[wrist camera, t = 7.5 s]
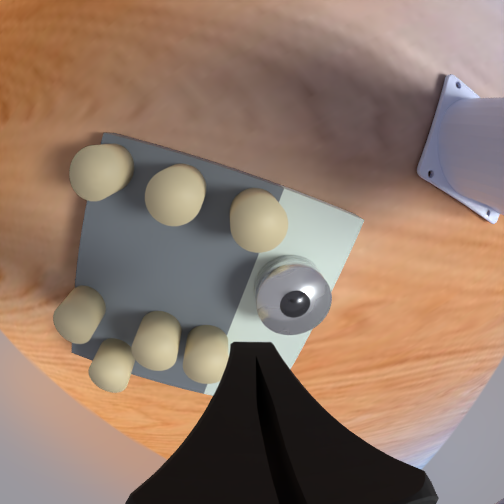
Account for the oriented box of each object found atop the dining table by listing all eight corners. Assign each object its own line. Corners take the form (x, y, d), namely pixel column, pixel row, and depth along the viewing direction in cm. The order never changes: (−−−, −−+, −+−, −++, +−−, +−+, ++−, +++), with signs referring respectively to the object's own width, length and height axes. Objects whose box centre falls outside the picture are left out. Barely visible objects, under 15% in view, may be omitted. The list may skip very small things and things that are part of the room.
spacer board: (354, 213, 18) (383, 233, 15) (266, 392, 23) (272, 431, 19) (108, 131, 15) (78, 131, 12) (75, 339, 20) (55, 372, 16)
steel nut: (329, 260, 18) (341, 275, 16) (310, 319, 19) (319, 338, 17) (261, 249, 17) (266, 263, 15) (247, 312, 18) (250, 331, 16)
